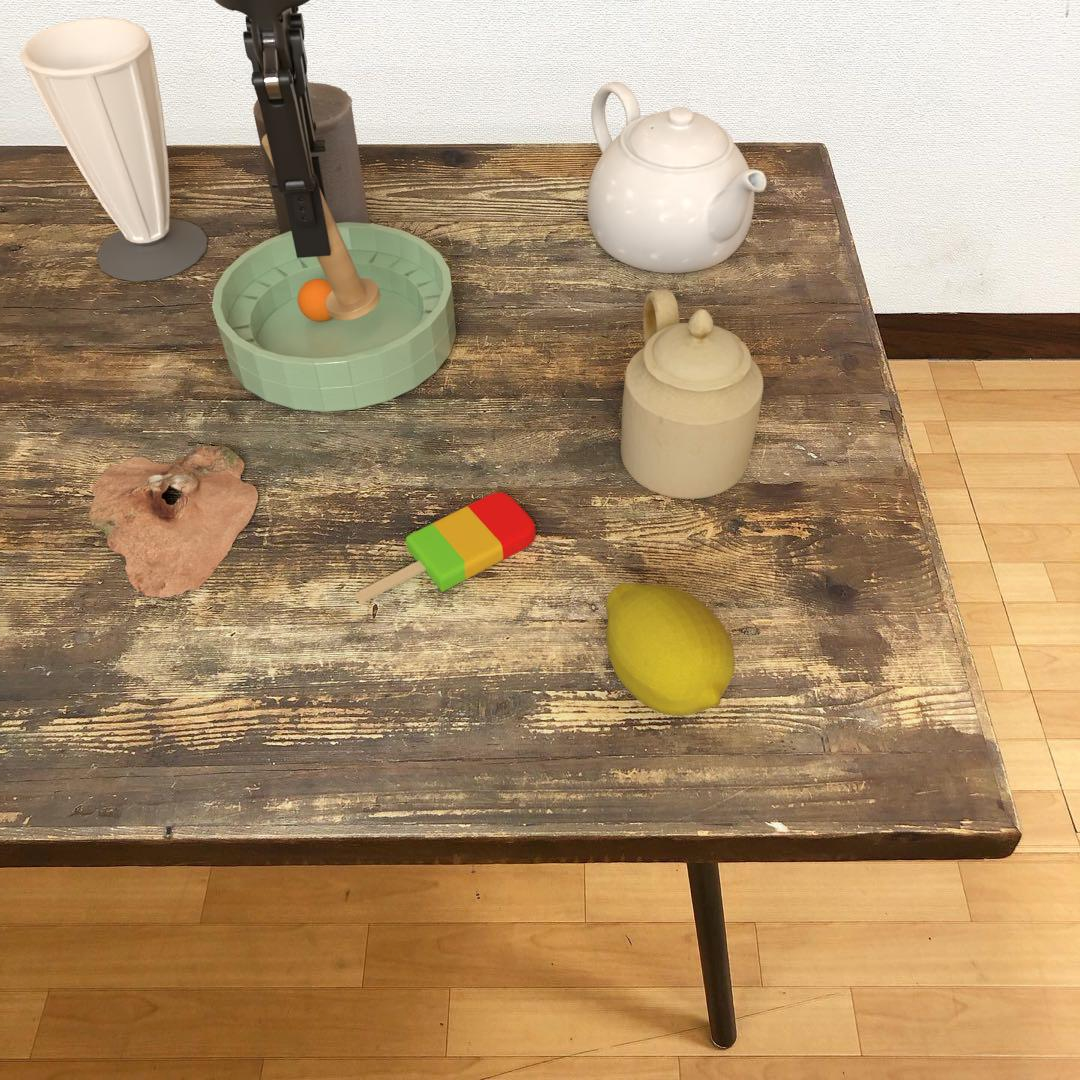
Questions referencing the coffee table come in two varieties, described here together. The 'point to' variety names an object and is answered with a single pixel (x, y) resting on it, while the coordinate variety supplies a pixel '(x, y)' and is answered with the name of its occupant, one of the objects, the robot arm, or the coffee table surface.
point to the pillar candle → (328, 157)
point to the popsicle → (463, 544)
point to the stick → (342, 273)
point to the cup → (115, 139)
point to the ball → (314, 300)
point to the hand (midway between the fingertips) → (314, 242)
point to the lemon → (668, 648)
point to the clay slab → (173, 517)
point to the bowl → (336, 322)
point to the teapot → (668, 188)
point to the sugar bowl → (688, 404)
